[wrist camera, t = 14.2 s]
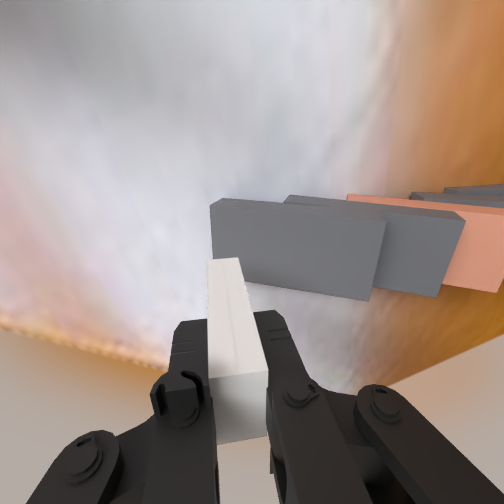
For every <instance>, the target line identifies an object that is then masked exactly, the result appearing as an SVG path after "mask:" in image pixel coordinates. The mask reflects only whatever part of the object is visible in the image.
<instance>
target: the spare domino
mask: <svg viewBox="0 0 504 504" xmlns="http://www.w3.org/2000/svg"><path fill="white" fill-rule="evenodd" d="M347 201H356V202H366V203H377V204H387V205H397V206H407V207H417V208H427V209H437V210H448V211H454V212H455V213H457V214H458V215H459V216H461V217H462V218H463V219H464V220H466V223H465V226H464V228H463V231H462V233H461V236H460V238H459V241H458V244H457V246H456V249H455V251H454V254H453V256H452V259H451V262H450V264H449V267H448V269H447V272H446V274H445V277H444V280H443V282H442V284H446V285H452V286H458V287H464V288H470V289H476V290H482V291H488V292H494V293H497V291H498V289H499V287H500V285H501V283H502V281H503V279H504V208H494V207H484V206H473V205H462V204H452V203H441V202H430V201H420V200H409V199H398V198H387V197H377V196H366V195H355V194H348V196H347Z"/></svg>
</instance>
